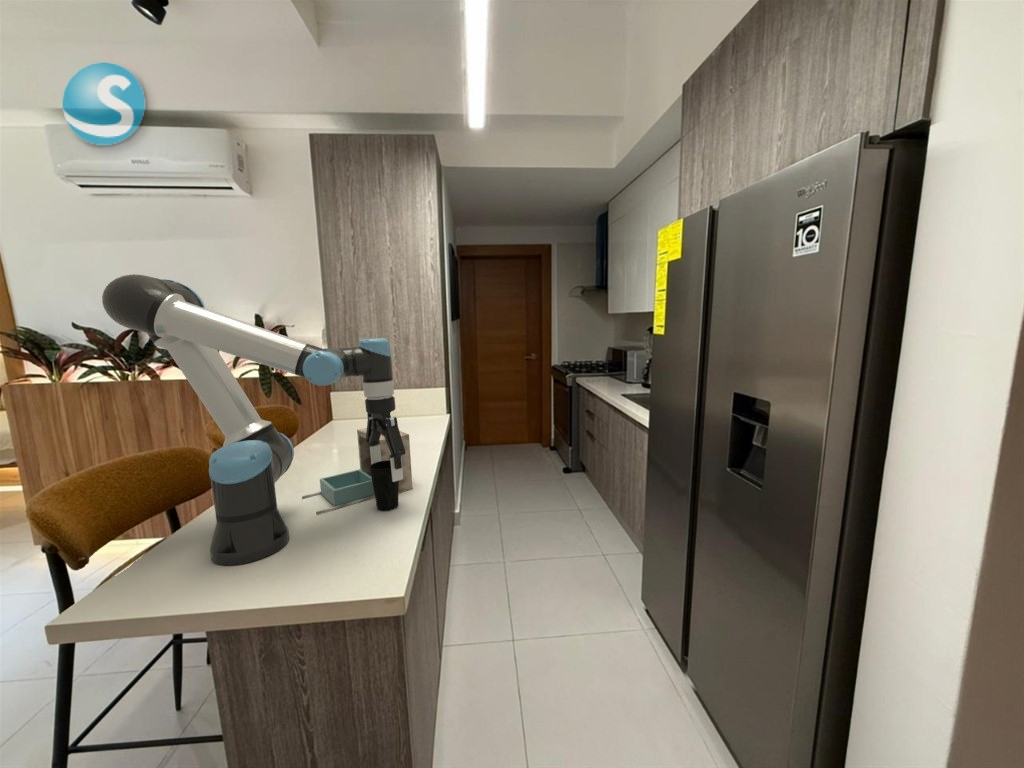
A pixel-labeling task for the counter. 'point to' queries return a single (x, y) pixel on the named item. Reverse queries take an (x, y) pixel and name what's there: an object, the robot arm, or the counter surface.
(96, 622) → the counter surface
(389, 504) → the cup
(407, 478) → the sliding drawer cabinet
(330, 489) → the tray
